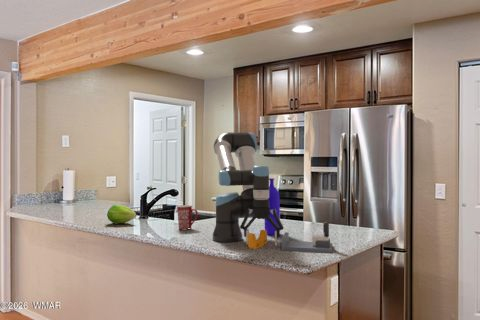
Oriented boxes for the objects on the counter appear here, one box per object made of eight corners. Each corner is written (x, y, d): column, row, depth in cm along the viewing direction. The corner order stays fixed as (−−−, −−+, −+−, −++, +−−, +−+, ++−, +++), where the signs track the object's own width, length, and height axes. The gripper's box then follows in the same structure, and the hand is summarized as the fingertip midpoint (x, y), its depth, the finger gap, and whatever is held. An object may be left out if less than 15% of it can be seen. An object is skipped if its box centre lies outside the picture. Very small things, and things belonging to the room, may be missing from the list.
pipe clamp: (255, 249, 177) (255, 234, 177) (248, 247, 180) (247, 233, 180) (270, 244, 187) (269, 230, 187) (262, 243, 190) (262, 229, 190)
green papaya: (127, 226, 239) (127, 207, 239) (102, 224, 247) (102, 205, 247) (142, 223, 251) (142, 204, 251) (118, 221, 260) (117, 203, 260)
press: (280, 250, 174) (280, 237, 174) (284, 243, 186) (284, 232, 186) (331, 252, 168) (331, 239, 168) (332, 246, 181) (332, 234, 181)
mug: (174, 229, 226) (173, 206, 226) (181, 227, 235) (181, 204, 235) (193, 231, 222) (193, 207, 222) (200, 228, 231) (200, 205, 230)
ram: (312, 245, 174) (312, 223, 174) (313, 243, 179) (312, 221, 179) (328, 246, 173) (328, 223, 173) (329, 243, 177) (328, 221, 177)
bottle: (267, 235, 206) (267, 179, 206) (262, 233, 214) (261, 178, 214) (282, 234, 208) (281, 178, 208) (276, 232, 216) (276, 177, 216)
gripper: (233, 199, 182) (233, 245, 182) (286, 199, 176) (287, 247, 175) (237, 197, 189) (238, 241, 189) (288, 198, 183) (289, 243, 183)
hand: (261, 244), depth 182 cm, fingers open, 13 cm apart
